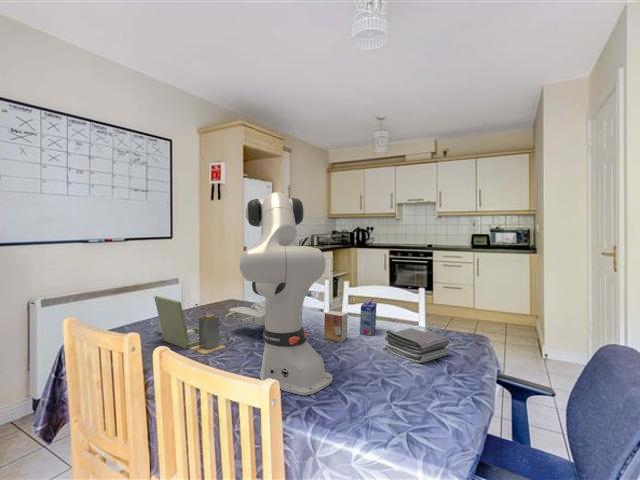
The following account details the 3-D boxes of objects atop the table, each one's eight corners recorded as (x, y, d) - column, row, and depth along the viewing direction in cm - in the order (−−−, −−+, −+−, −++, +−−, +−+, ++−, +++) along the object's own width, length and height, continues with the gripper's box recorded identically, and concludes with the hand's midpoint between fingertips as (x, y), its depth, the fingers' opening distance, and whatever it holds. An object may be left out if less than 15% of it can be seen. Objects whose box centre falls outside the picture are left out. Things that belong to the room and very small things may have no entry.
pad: (225, 347, 125) (225, 346, 125) (204, 354, 118) (204, 353, 118) (211, 342, 130) (211, 341, 130) (189, 349, 123) (190, 347, 123)
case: (220, 338, 135) (220, 294, 134) (178, 351, 121) (178, 302, 120) (195, 330, 145) (195, 289, 145) (154, 341, 131) (154, 296, 130)
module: (219, 346, 125) (218, 315, 125) (207, 350, 121) (207, 318, 121) (210, 343, 128) (210, 313, 128) (199, 347, 124) (199, 316, 124)
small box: (323, 339, 135) (323, 313, 135) (329, 335, 140) (330, 310, 140) (342, 342, 131) (342, 315, 131) (347, 338, 136) (347, 312, 136)
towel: (422, 367, 109) (423, 343, 109) (380, 350, 124) (381, 329, 124) (449, 356, 118) (450, 334, 118) (407, 342, 133) (407, 322, 133)
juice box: (372, 336, 139) (373, 301, 139) (359, 334, 141) (359, 300, 141) (376, 329, 149) (376, 296, 148) (364, 328, 150) (364, 295, 150)
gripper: (243, 301, 151) (217, 307, 140) (276, 308, 138) (251, 315, 127) (243, 315, 151) (217, 322, 140) (276, 324, 139) (251, 332, 127)
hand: (233, 319), depth 133 cm, fingers open, 8 cm apart
